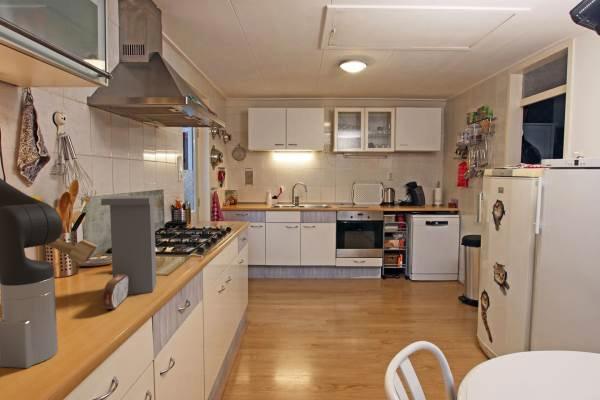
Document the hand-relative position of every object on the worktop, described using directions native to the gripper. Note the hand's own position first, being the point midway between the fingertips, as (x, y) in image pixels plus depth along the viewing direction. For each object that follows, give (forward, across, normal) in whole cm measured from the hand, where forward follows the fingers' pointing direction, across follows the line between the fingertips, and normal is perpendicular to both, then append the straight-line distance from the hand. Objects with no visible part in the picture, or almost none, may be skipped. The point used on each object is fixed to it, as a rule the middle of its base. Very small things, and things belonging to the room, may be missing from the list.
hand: (56, 237), depth 114 cm
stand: (+22, 0, +19) cm, 29 cm away
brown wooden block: (+1, 0, +4) cm, 4 cm away
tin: (+20, -14, +19) cm, 31 cm away
